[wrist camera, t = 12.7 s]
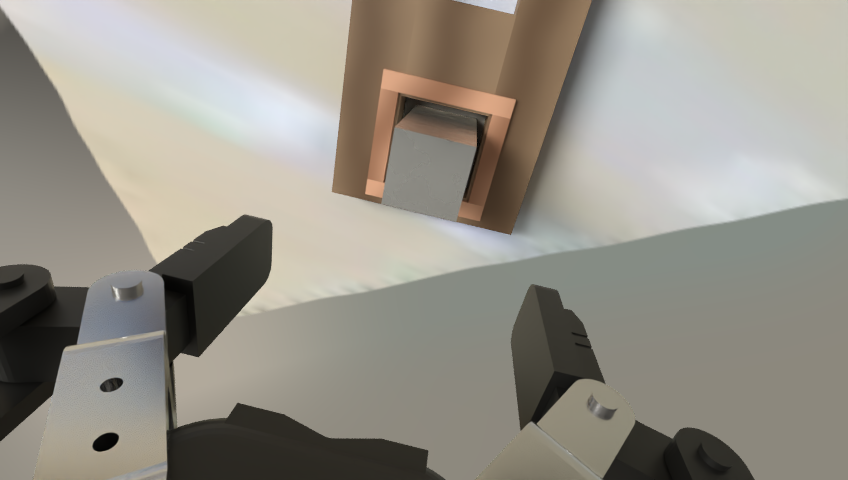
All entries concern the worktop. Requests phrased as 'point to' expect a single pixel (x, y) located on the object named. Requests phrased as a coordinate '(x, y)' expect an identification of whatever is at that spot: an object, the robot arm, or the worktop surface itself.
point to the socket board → (456, 90)
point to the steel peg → (430, 162)
